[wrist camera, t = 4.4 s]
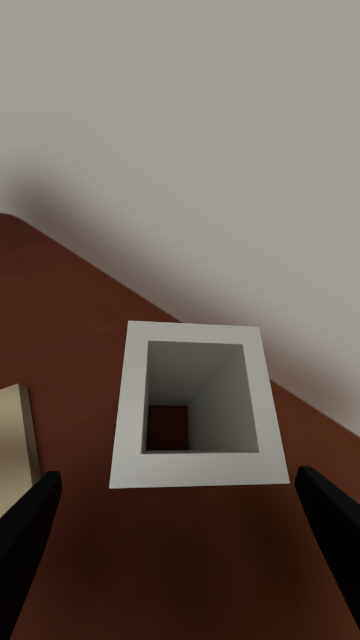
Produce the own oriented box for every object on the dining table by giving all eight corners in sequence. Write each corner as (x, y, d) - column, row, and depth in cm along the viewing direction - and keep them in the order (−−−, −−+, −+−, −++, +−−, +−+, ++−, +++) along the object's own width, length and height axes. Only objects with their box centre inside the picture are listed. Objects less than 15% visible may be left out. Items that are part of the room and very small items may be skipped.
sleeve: (202, 465, 17) (303, 497, 6) (131, 466, 17) (93, 504, 5) (198, 393, 20) (265, 320, 8) (137, 392, 19) (120, 312, 8)
